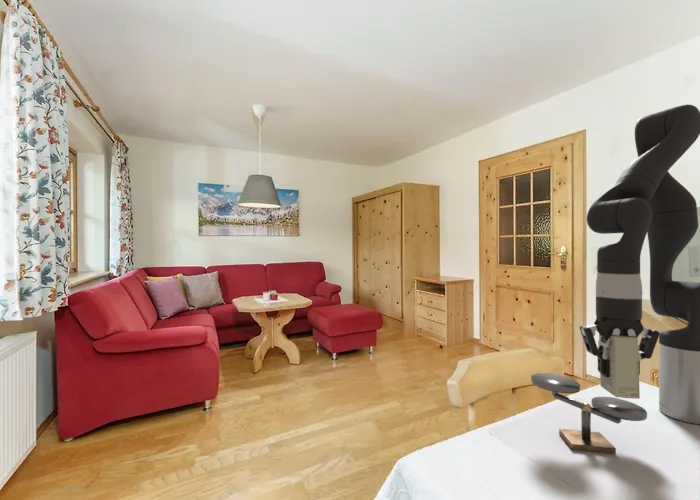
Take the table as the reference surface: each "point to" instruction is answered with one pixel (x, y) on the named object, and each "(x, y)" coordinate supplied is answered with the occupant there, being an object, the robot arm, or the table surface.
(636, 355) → the skincare box
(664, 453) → the table surface
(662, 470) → the table surface
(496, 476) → the table surface
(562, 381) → the balance
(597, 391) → the table surface
